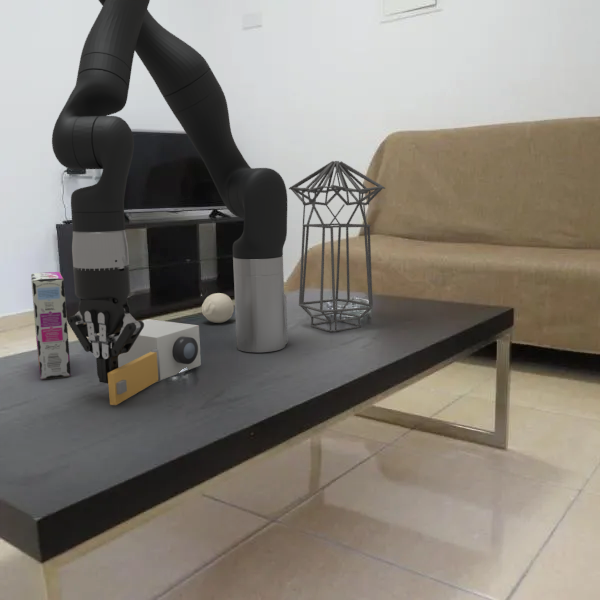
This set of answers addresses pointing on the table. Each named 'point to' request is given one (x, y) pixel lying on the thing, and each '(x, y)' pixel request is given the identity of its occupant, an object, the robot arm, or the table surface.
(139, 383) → the side door
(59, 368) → the candy bar box
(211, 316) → the cream round ball
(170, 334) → the block
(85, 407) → the table surface
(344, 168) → the geometric lantern
